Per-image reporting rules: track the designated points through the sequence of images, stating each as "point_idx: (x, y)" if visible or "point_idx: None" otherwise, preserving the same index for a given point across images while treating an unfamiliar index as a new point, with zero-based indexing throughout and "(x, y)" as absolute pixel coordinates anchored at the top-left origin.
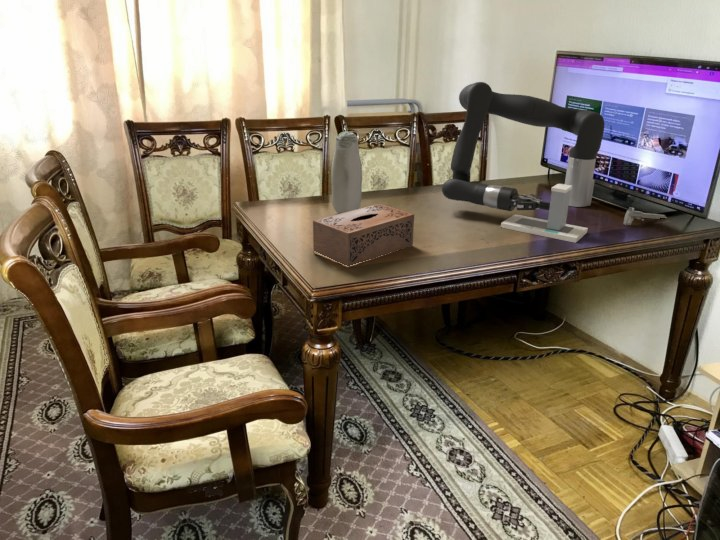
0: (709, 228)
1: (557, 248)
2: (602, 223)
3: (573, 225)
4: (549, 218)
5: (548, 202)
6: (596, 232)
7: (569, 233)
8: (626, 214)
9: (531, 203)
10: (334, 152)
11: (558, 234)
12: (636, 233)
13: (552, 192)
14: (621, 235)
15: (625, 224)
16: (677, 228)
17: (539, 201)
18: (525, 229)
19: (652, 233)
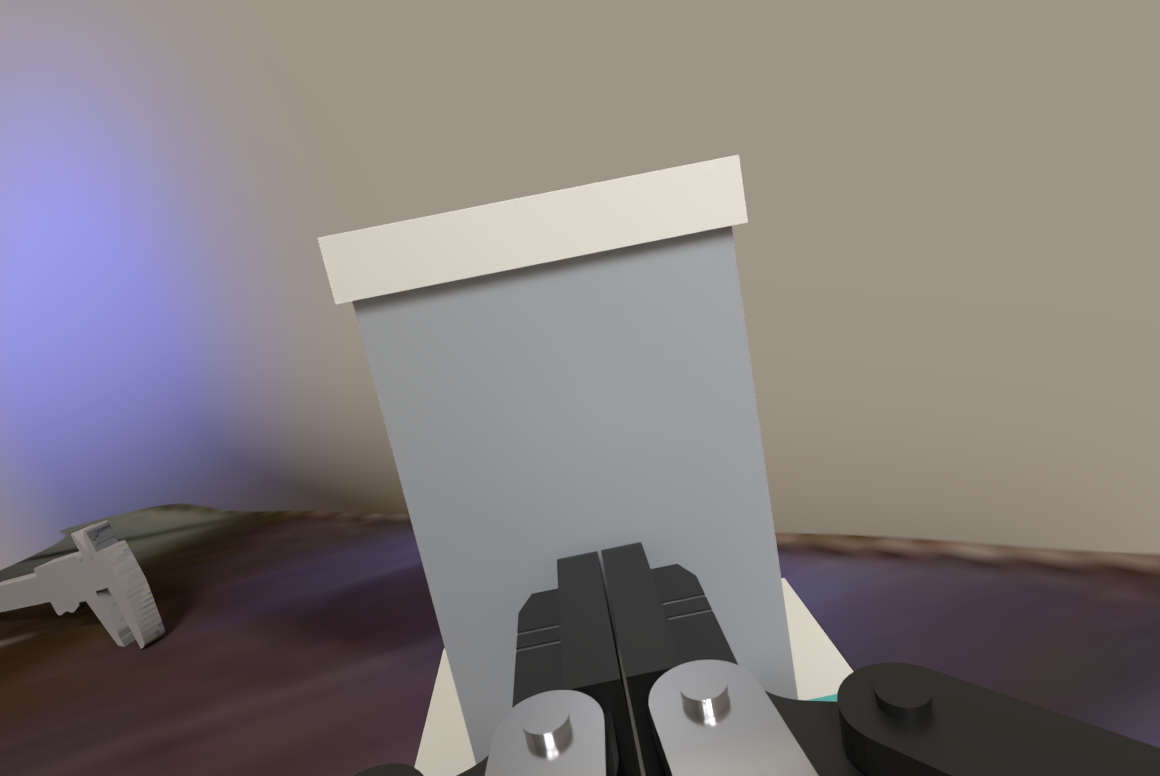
0: (149, 510)
1: (1080, 614)
2: (115, 733)
3: (429, 739)
4: (792, 689)
5: (590, 587)
6: (410, 657)
7: None
8: (124, 572)
9: (1059, 736)
10: None
11: None
12: (324, 565)
13: (731, 258)
14: (402, 577)
15: (162, 629)
16: (171, 539)
17: (691, 679)
18: None
19: (294, 544)
